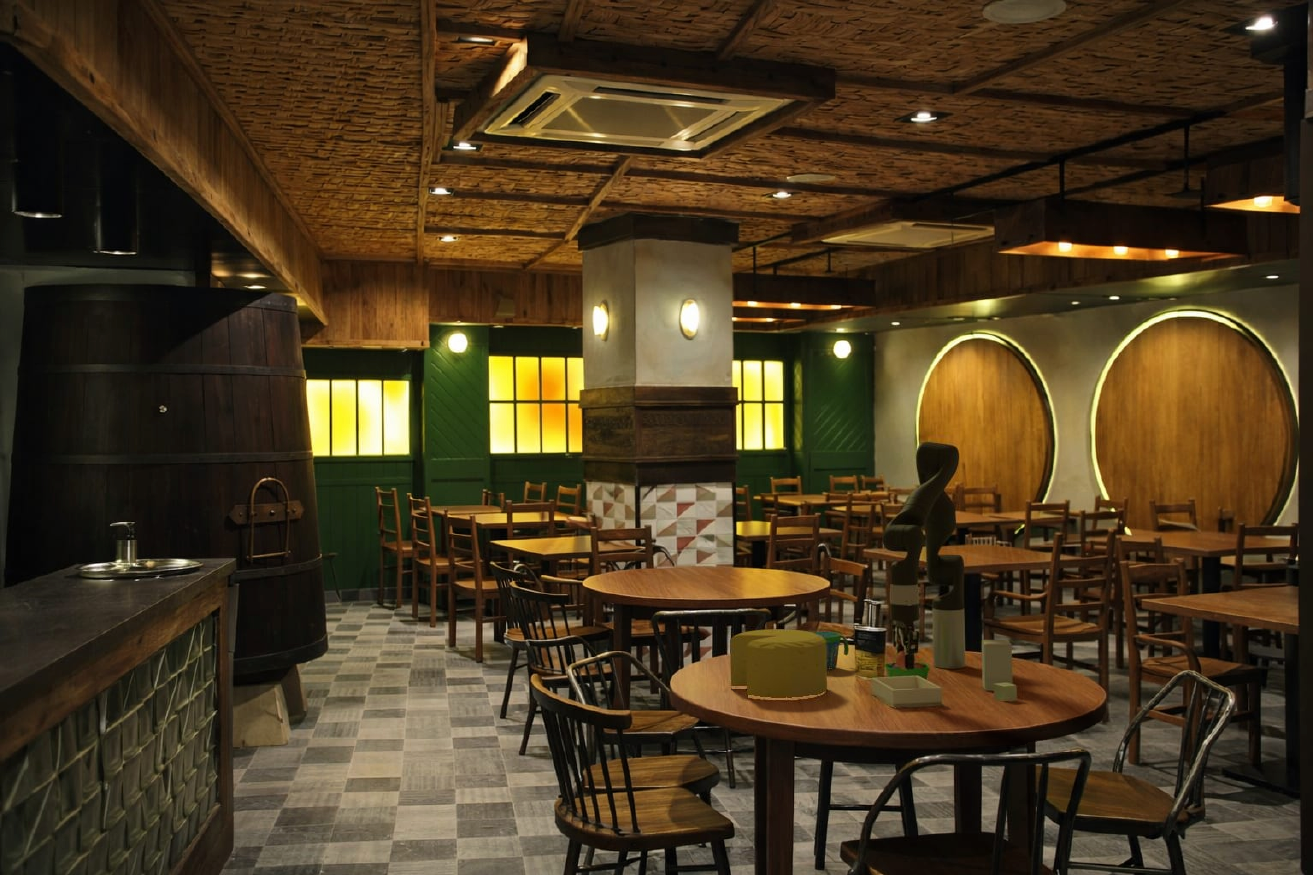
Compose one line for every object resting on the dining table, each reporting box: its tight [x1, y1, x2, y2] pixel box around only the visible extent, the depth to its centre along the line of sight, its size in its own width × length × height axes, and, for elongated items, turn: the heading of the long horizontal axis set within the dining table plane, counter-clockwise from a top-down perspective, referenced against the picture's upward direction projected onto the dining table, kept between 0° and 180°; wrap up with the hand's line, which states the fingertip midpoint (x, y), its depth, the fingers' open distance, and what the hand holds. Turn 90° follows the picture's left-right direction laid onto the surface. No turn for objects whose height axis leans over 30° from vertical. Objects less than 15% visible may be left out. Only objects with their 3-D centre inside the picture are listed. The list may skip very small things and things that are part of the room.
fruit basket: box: [884, 646, 931, 681], centre depth 315 cm, size 11×9×11 cm
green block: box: [993, 682, 1018, 702], centre depth 293 cm, size 4×4×4 cm
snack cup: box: [811, 631, 849, 670], centre depth 338 cm, size 16×10×10 cm
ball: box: [895, 650, 916, 670], centre depth 294 cm, size 5×5×5 cm
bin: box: [870, 676, 943, 708], centre depth 294 cm, size 16×13×4 cm
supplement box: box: [981, 639, 1013, 692], centre depth 306 cm, size 7×7×13 cm
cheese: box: [729, 628, 828, 698], centre depth 308 cm, size 26×26×15 cm
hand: (905, 666), depth 294 cm, fingers closed on ball, 5 cm apart
